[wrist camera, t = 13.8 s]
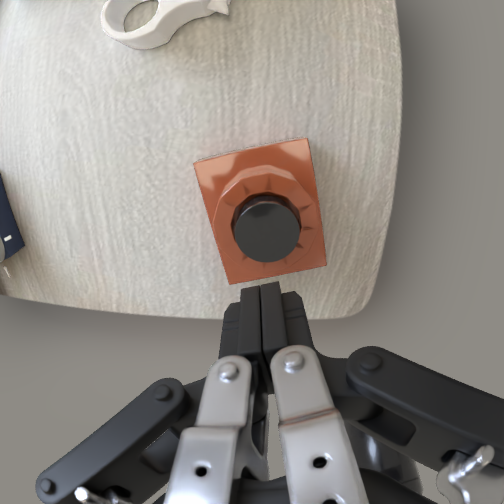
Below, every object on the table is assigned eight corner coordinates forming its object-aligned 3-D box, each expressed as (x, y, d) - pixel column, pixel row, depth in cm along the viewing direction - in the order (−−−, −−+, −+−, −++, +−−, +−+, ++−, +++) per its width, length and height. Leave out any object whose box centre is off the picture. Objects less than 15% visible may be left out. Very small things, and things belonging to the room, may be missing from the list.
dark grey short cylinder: (300, 244, 19) (304, 256, 17) (244, 255, 19) (243, 268, 18) (290, 189, 17) (294, 196, 16) (229, 202, 18) (227, 210, 16)
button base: (321, 253, 23) (332, 277, 20) (231, 271, 24) (227, 298, 20) (302, 136, 19) (313, 139, 15) (198, 159, 20) (186, 167, 16)
